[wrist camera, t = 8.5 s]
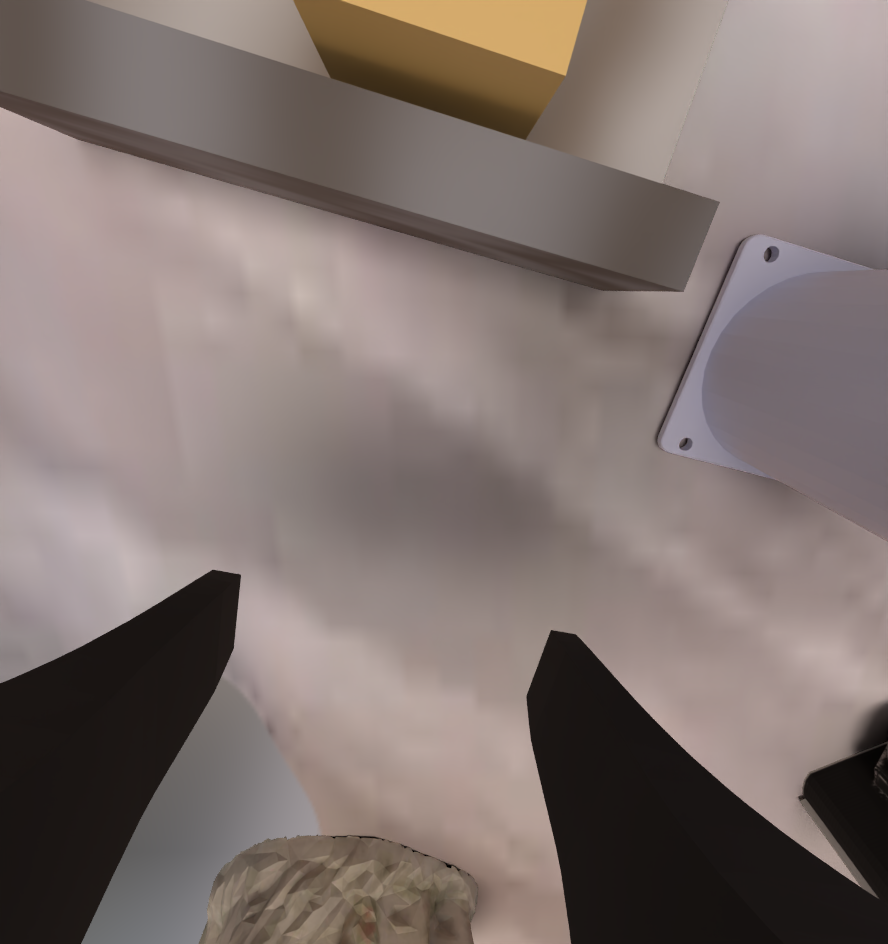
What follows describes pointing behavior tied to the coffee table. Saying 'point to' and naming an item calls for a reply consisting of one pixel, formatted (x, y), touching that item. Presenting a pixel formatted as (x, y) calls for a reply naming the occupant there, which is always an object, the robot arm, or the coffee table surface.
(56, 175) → the coffee table surface
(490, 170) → the board
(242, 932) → the rough stone chunk
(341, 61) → the cabinet block
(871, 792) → the camera
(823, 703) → the coffee table surface
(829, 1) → the coffee table surface
